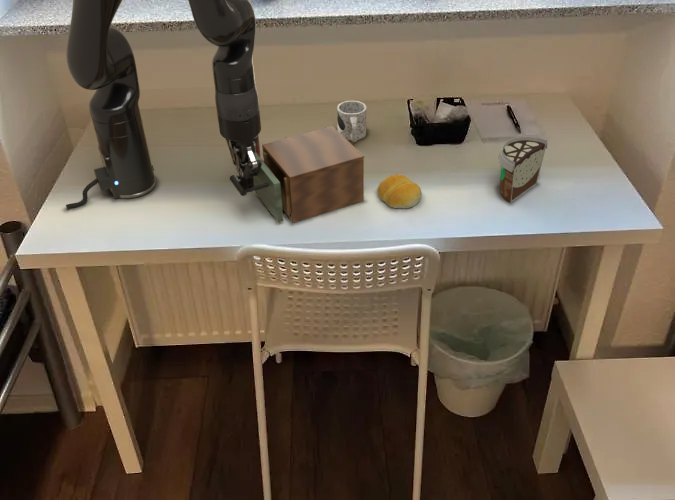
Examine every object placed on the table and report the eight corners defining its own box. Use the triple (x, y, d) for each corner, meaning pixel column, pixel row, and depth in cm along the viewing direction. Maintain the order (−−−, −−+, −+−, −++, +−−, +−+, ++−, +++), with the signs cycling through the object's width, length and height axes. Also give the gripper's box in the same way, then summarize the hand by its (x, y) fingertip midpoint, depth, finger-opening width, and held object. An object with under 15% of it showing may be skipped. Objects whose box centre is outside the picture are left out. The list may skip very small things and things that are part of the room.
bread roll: (397, 215, 139) (397, 198, 136) (371, 193, 145) (371, 177, 142) (430, 201, 142) (431, 184, 139) (404, 181, 148) (404, 164, 145)
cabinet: (293, 223, 137) (289, 177, 131) (266, 188, 147) (262, 144, 140) (363, 201, 143) (363, 156, 136) (333, 169, 152) (332, 125, 145)
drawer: (250, 230, 134) (245, 192, 129) (227, 197, 143) (222, 160, 137) (344, 201, 141) (343, 164, 135) (317, 171, 150) (316, 135, 144)
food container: (515, 170, 150) (522, 128, 144) (540, 181, 147) (548, 139, 141) (480, 194, 144) (486, 151, 137) (506, 206, 140) (513, 163, 134)
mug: (336, 127, 166) (336, 101, 162) (364, 125, 167) (364, 99, 162) (339, 148, 159) (339, 122, 154) (369, 147, 159) (369, 120, 155)
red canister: (245, 172, 152) (241, 142, 147) (238, 162, 155) (234, 133, 150) (264, 167, 153) (261, 137, 149) (257, 157, 156) (253, 128, 152)
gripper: (205, 98, 129) (217, 178, 140) (231, 130, 120) (242, 212, 130) (244, 89, 131) (253, 168, 142) (271, 119, 122) (279, 201, 133)
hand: (247, 189), depth 136 cm, fingers closed
